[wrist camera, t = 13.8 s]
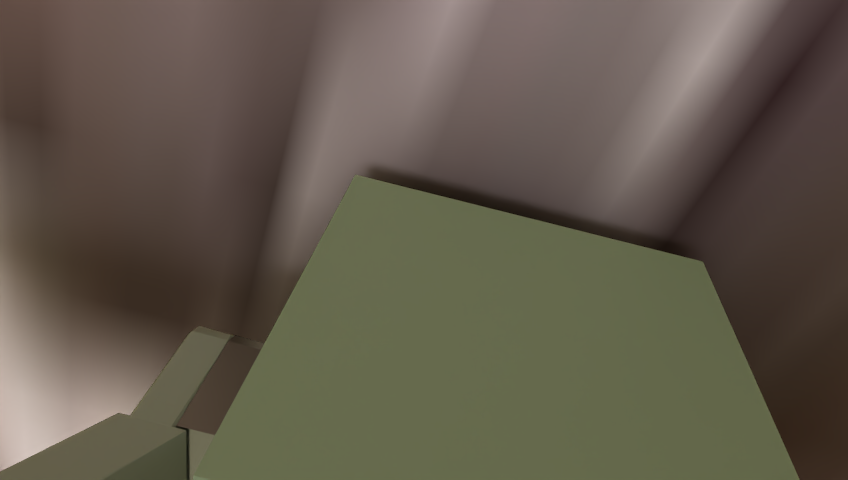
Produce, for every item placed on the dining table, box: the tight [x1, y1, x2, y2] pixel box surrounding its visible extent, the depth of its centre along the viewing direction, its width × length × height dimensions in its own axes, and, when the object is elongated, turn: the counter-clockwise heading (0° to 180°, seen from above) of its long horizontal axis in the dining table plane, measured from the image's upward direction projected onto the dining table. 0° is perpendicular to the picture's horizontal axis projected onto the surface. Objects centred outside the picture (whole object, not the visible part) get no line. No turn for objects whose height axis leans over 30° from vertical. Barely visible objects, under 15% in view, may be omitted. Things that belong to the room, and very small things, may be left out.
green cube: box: [193, 175, 800, 480], centre depth 8 cm, size 5×5×5 cm
